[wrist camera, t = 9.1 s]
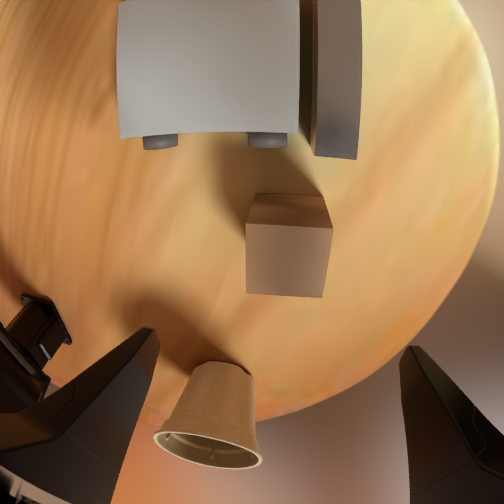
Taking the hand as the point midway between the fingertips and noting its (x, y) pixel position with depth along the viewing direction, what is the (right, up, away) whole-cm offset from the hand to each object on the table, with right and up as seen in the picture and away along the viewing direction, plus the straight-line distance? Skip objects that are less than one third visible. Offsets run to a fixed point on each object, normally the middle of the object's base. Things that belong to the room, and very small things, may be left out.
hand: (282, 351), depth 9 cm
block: (+1, +5, +9) cm, 10 cm away
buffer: (+3, +13, +3) cm, 14 cm away
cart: (-3, +14, +4) cm, 15 cm away
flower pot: (-4, -9, +18) cm, 20 cm away
